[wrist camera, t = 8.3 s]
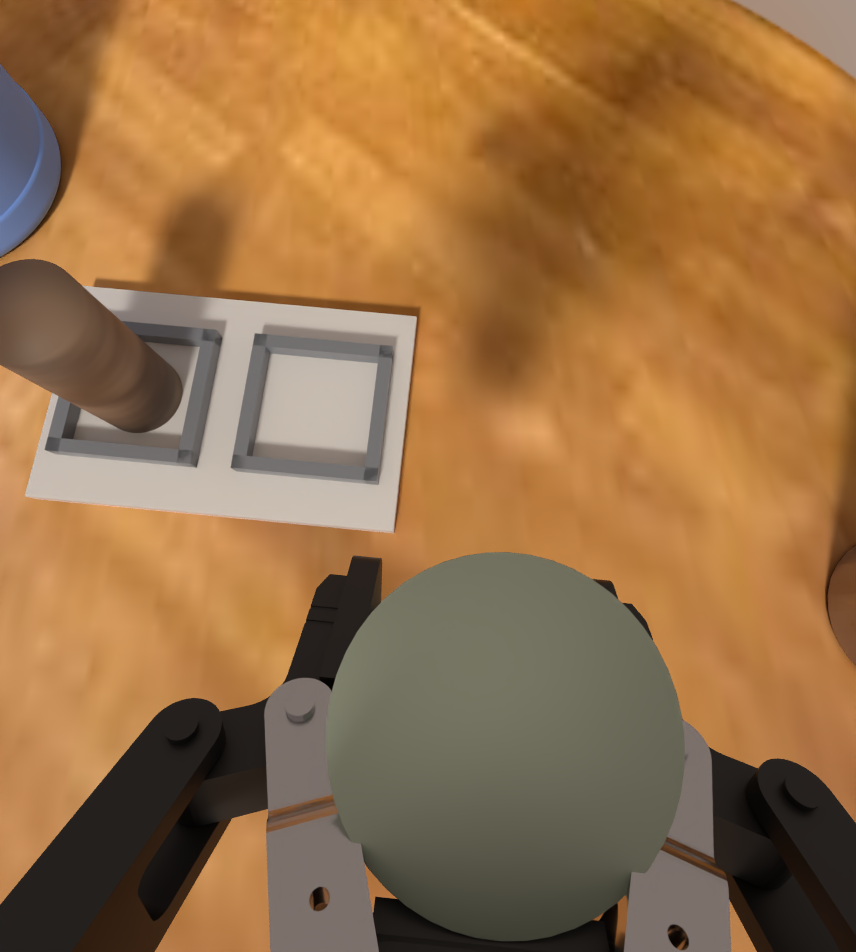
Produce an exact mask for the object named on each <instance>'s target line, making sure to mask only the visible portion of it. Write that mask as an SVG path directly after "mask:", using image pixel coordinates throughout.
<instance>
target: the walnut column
mask: <svg viewBox="0 0 856 952" xmlns="http://www.w3.org/2000/svg"><path fill="white" fill-rule="evenodd" d="M0 365H2V366H3V367H5V368H7V369H9V370H11V371H13V372H15V373H16V374H18V375H20V376H22V377H24V378H26V379H28V380H29V381H31V382H33V383H35V384H37V385H39V386H41V387H42V388H44V389H46V390H48V391H50V392H52V393H54V394H55V395H57V396H59V397H61V398H63V399H65V400H66V401H68V402H70V403H72V404H74V405H76V406H78V407H79V408H81V409H83V410H85V411H87V412H89V413H91V414H92V415H94V416H96V417H98V418H100V419H102V420H104V421H105V422H107V423H109V424H111V425H113V426H115V427H117V428H118V429H120V430H123V431H126V432H130V433H144V432H149V431H152V430H155V429H157V428H159V427H161V426H162V425H164V424H165V423H167V422H168V421H169V420H170V419H171V418H172V417H173V416H174V414H175V413H176V411H177V409H178V408H179V405H180V403H181V399H182V392H183V391H182V383H181V380H180V377H179V375H178V373H177V372H176V371H175V369H174V368H173V367H172V366H171V365H169V364H168V363H167V362H166V361H165V360H164V359H163V358H162V357H161V356H159V355H158V354H157V353H156V352H155V351H154V350H153V349H152V348H151V347H149V346H148V345H147V344H146V343H145V342H144V341H143V340H142V339H141V338H140V337H138V336H137V335H136V334H135V333H134V332H133V331H132V330H131V329H130V328H128V327H127V326H126V325H125V324H124V323H123V322H122V321H121V320H120V319H118V318H117V317H116V316H115V315H114V314H113V313H112V312H111V311H110V310H108V309H107V308H106V307H105V306H104V305H103V304H102V303H101V302H100V301H98V300H97V299H96V298H95V297H94V296H93V295H92V294H91V293H90V292H88V291H87V290H86V289H85V288H84V287H83V286H82V285H81V284H80V283H78V282H77V281H76V280H75V279H74V278H73V277H72V276H71V275H70V274H68V273H67V272H66V271H65V270H64V269H62V268H61V267H59V266H57V265H55V264H53V263H50V262H47V261H43V260H36V259H26V260H19V261H14V262H11V263H8V264H5V265H3V266H1V267H0Z"/></svg>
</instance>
